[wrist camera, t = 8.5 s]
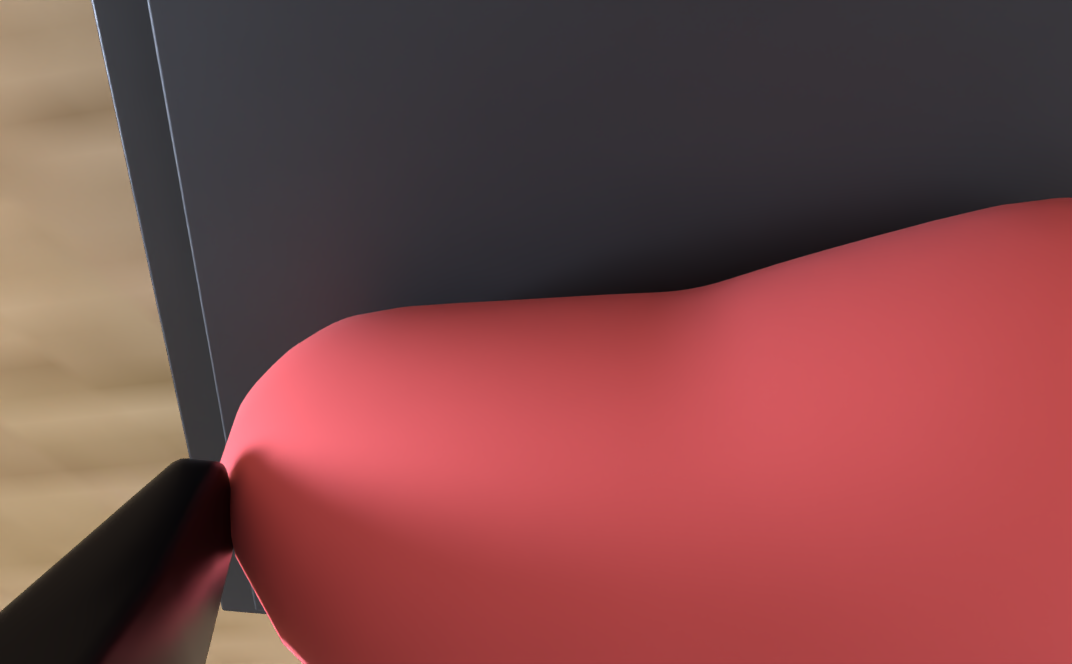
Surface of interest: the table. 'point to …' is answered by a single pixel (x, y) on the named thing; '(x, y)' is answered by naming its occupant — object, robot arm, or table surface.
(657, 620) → the stress ball
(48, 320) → the table surface
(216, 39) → the black case
